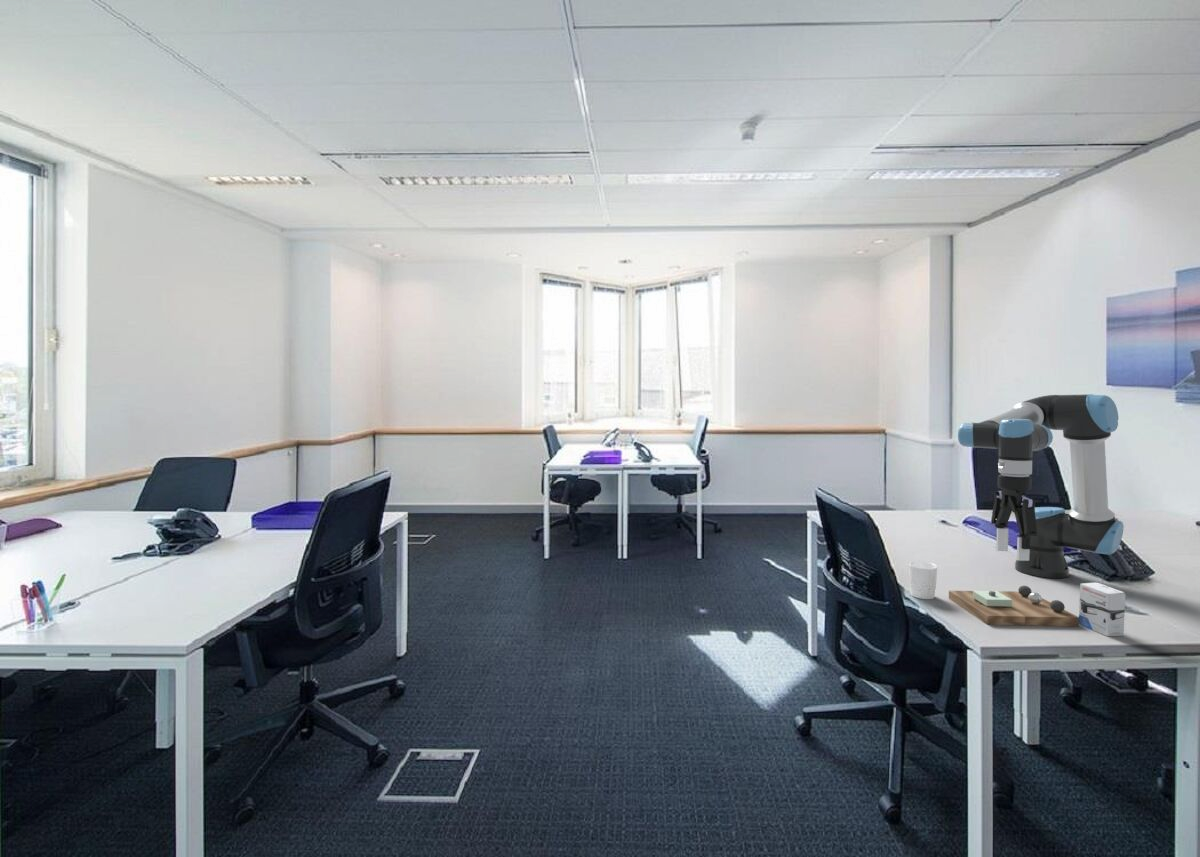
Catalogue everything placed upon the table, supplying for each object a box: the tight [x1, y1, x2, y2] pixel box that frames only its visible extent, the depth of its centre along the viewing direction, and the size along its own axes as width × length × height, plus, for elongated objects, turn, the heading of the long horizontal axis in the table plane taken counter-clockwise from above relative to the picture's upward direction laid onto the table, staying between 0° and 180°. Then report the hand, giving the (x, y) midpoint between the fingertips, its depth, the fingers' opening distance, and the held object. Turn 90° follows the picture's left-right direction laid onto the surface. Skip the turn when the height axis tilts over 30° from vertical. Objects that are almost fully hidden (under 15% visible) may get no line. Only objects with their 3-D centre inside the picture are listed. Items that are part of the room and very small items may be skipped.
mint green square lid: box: [972, 590, 1012, 607], centre depth 164 cm, size 7×7×3 cm
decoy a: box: [1017, 585, 1033, 597], centre depth 169 cm, size 3×3×3 cm
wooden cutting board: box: [948, 590, 1080, 627], centre depth 164 cm, size 24×20×2 cm
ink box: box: [1078, 582, 1126, 637], centre depth 151 cm, size 8×5×12 cm, turn 5°
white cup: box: [908, 561, 938, 600], centre depth 178 cm, size 8×8×10 cm
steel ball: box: [1028, 592, 1043, 604], centre depth 163 cm, size 3×3×3 cm
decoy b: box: [1050, 599, 1066, 612], centre depth 157 cm, size 3×3×3 cm
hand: (1012, 555), depth 155 cm, fingers open, 8 cm apart
